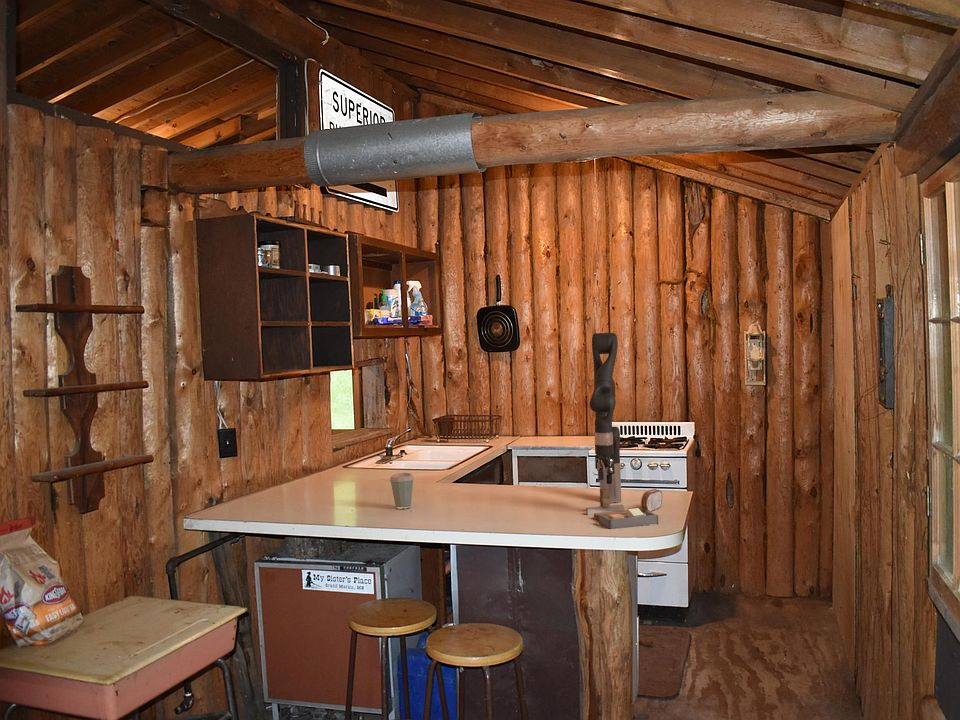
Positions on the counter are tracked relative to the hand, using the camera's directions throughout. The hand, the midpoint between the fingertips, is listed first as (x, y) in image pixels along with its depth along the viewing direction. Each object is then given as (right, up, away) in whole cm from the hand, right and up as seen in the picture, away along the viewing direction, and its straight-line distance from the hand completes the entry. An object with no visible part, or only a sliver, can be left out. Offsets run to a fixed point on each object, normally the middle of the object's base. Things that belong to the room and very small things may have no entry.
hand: (605, 481), depth 318 cm
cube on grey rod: (0, -13, 0) cm, 13 cm away
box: (+6, -13, -21) cm, 25 cm away
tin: (+20, -13, +3) cm, 24 cm away
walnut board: (+3, -13, -12) cm, 18 cm away
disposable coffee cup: (-86, -16, +23) cm, 90 cm away
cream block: (+9, -12, -17) cm, 23 cm away
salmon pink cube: (+1, -13, -20) cm, 24 cm away
